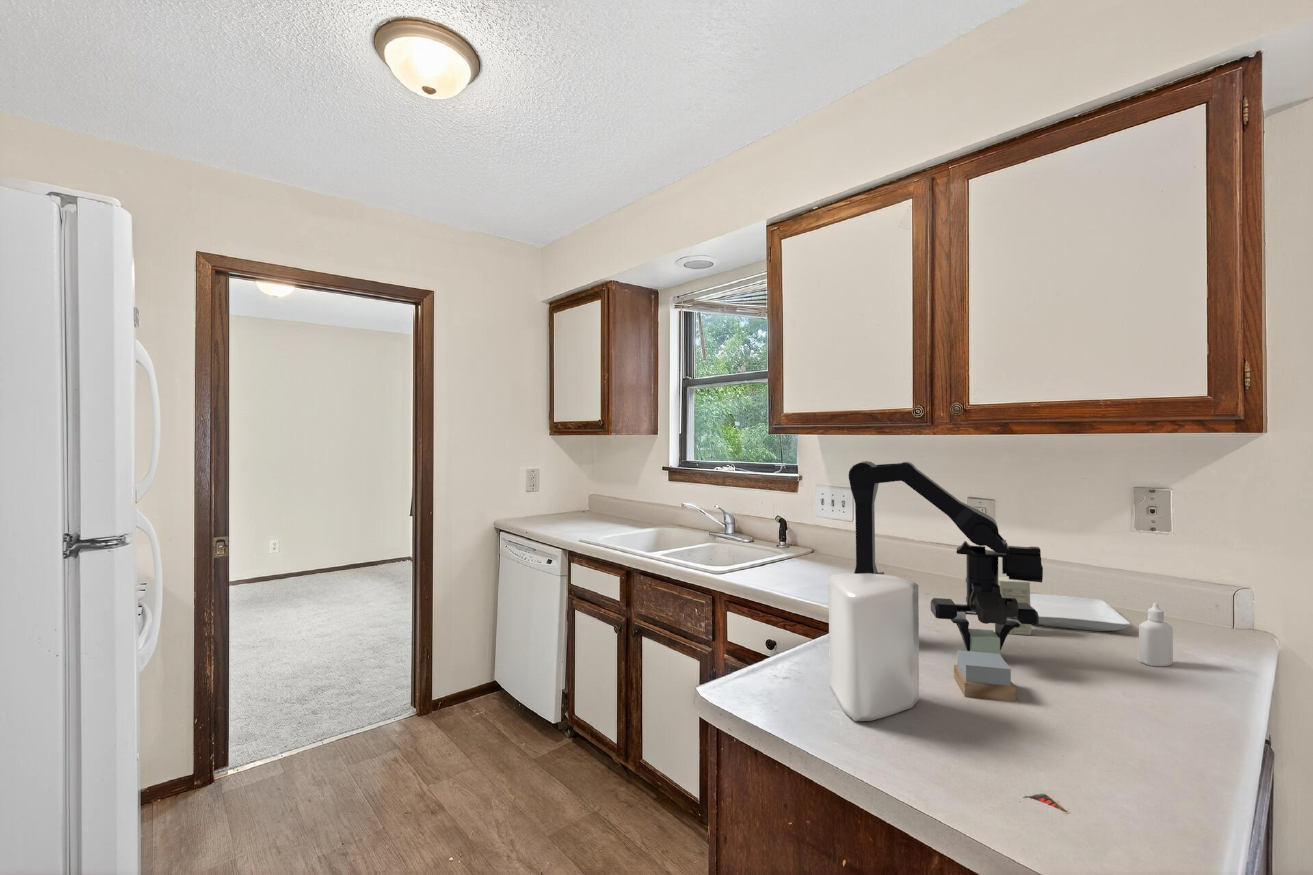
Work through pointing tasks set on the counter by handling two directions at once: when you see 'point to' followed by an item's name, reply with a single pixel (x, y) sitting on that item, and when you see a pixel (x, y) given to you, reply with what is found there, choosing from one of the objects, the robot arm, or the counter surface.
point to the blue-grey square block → (984, 668)
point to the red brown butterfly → (1047, 801)
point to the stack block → (984, 641)
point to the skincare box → (1020, 593)
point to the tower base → (984, 689)
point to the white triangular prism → (873, 644)
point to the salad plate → (1076, 613)
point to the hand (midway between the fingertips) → (982, 652)
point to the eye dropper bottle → (1155, 639)
